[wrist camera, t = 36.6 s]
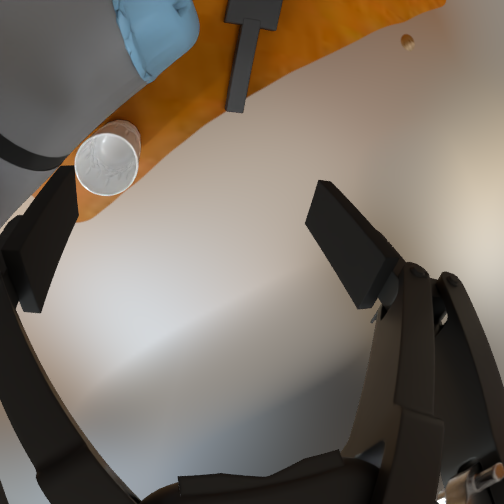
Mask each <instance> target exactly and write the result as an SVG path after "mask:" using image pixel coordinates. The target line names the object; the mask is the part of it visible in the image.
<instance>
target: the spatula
mask: <svg viewBox="0 0 504 504" xmlns="http://www.w3.org/2000/svg"><path fill="white" fill-rule="evenodd" d="M282 1H283V0H228V5H227V9H226V14H225V19H224V23H231V24H238V25H240V29H239V34H238V39H237V44H236V49H235V54H234V60H233V65H232V70H231V76H230V81H229V87H228V93H227V99H226V105H225V110H226V111H227V112H236V113H243V111H244V105H245V100H246V95H247V89H248V84H249V79H250V74H251V69H252V64H253V59H254V54H255V49H256V44H257V39H258V34H259V30H260V29H265V30H270V31H276V29H277V24H278V19H279V15H280V10H281V6H282Z"/></svg>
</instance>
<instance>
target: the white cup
mask: <svg viewBox="0 0 504 504" xmlns="http://www.w3.org/2000/svg"><path fill="white" fill-rule="evenodd" d="M140 150H141V137H140V133H139V132H138V130H137V128H136V126H134V125H133V124H131V123H130V122H128V121H124V120H115V121H112V122H109V123H107V124H106V125H104V126H103V127H101V128H100V129H99V130H97V131H96V132H95V133H94V134H93V135H91V136H90V137H89V138H88V139H87V140H86V141H85V142H84V143H83V144H82V145H81V146H80V148H79V150H78V152H77V154H76V157H75V172H76V175H77V177H78V179H79V181H80V183H81V184H82V185H83V186H84V187H85V188H86V189H87V190H89V191H90V192H92V193H94V194H97V195H102V196H111V195H116V194H118V193H121V192H123V191H124V190H126V189H127V188H128V187H129V186H130V185H131V184H132V182H133V181H134V179H135V177H136V175H137V171H138V165H139V159H140Z"/></svg>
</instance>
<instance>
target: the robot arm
mask: <svg viewBox="0 0 504 504" xmlns="http://www.w3.org/2000/svg"><path fill="white" fill-rule="evenodd" d="M199 28H200V27H199V20H198V16H197V13H196V10H195V7H194V4H193V2H192V0H0V228H1V227H2V226H3V225H4V224H5V222H6V221H7V220H8V219H9V218H10V216H12V214H13V213H14V212H15V211H16V210H17V209H18V208H19V207H20V206H21V205H22V204H23V203H24V202H25V201H26V200H27V199H28V198H29V197H30V196H31V195H32V194H33V193H34V192H35V191H36V190H37V189H38V188H39V187H40V186H41V185H42V184H43V183H44V182H45V181H46V180H47V179H48V178H49V177H50V176H51V175H52V174H53V172H54V171H55V170H56V169H57V168H58V167H59V166H60V165H61V164H62V162H63V161H64V160H65V158H66V157H67V156H68V155H69V154H70V153H71V152H72V151H73V150H74V149H75V148H76V147H77V146H78V145H79V144H80V143H81V142H82V141H83V140H84V139H85V138H86V137H87V136H88V135H89V134H90V133H91V132H92V131H93V130H94V129H95V128H96V127H97V126H99V125H100V124H101V123H102V122H103V121H104V120H105V119H106V118H107V117H108V116H110V115H111V114H112V113H113V112H114V111H115V110H116V109H118V108H119V107H120V106H121V105H122V104H123V103H125V102H126V101H127V100H128V99H129V98H131V97H132V96H133V95H134V94H136V93H137V92H138V91H139V90H141V89H142V88H143V87H144V86H146V85H147V84H148V83H150V82H152V81H154V80H155V79H156V78H157V76H158V75H159V74H160V73H162V72H163V71H164V70H165V69H166V68H167V67H169V66H170V65H171V64H172V63H173V62H175V61H176V60H177V59H178V58H180V57H181V56H182V55H183V54H185V53H186V52H187V51H188V50H189V49H190V48H191V47H192V46H193V45H194V44H195V42H196V40H197V38H198V35H199ZM78 216H79V213H78V204H77V193H76V181H75V165H71V166H60V167H59V168H58V169H57V171H56V172H55V173H54V174H53V176H52V177H51V178H50V179H49V181H48V182H47V183H46V184H45V186H44V187H43V188H42V190H41V191H40V192H39V194H38V195H37V196H36V198H35V199H34V200H33V202H32V203H31V204H30V206H29V207H28V209H27V210H26V212H25V213H24V214H23V215H17V216H16V217H15V218H13V219H12V220H11V221H10V222H8V224H7V225H6V227H5V228H4V231H3V232H2V233H1V234H0V400H1V402H2V405H3V407H4V409H5V411H6V414H7V416H8V418H9V420H10V422H11V424H12V426H13V428H14V431H15V432H16V434H17V436H18V438H19V440H20V442H21V444H22V446H23V448H24V449H25V451H26V453H27V455H28V457H29V458H30V460H31V462H32V463H33V465H34V467H35V469H36V472H37V474H36V479H37V482H38V484H39V486H40V488H41V490H42V491H43V493H44V494H45V496H46V497H47V499H48V500H49V502H50V503H51V504H504V387H503V384H502V380H501V377H500V374H499V371H498V368H497V365H496V362H495V359H494V356H493V354H492V351H491V348H490V346H489V343H488V340H487V338H486V335H485V333H484V330H483V328H482V325H481V323H480V321H479V318H478V316H477V314H476V311H475V309H474V307H473V305H472V302H471V300H470V298H469V296H468V294H467V292H466V290H465V288H464V286H463V284H462V282H461V281H460V280H459V279H458V277H457V276H455V275H454V274H451V273H449V272H442V274H441V275H440V277H439V279H438V280H436V279H432V278H430V277H429V274H428V273H427V271H426V270H425V269H424V268H422V267H421V266H419V265H418V264H415V263H412V262H407V263H406V262H405V260H404V259H403V258H402V257H401V256H400V254H399V253H398V252H397V251H396V250H395V249H394V247H392V245H391V244H390V243H389V242H387V239H386V238H385V237H384V236H383V235H382V234H381V233H380V232H379V231H377V230H376V229H375V228H374V227H373V226H372V225H371V224H370V223H369V221H368V220H367V219H366V218H365V217H364V216H363V215H362V214H361V213H360V212H359V211H358V209H357V208H356V207H355V206H354V205H353V204H352V203H351V202H350V201H349V200H348V199H347V198H346V197H345V196H344V195H343V194H342V192H341V191H340V190H339V189H338V188H336V186H335V185H334V184H333V183H332V182H330V181H323V180H318V184H317V187H316V190H315V193H314V197H313V200H312V203H311V206H310V209H309V212H308V215H307V218H306V222H305V225H306V226H307V227H308V229H309V231H310V232H311V234H312V235H313V237H314V239H315V240H316V242H317V243H318V245H319V246H320V248H321V250H322V251H323V252H324V254H325V256H326V258H327V259H328V261H329V262H330V264H331V266H332V267H333V269H334V270H335V272H336V273H337V275H338V277H339V279H340V280H341V282H342V284H343V285H344V287H345V289H346V290H347V292H348V294H349V295H350V297H351V298H352V300H353V302H354V304H355V306H356V307H357V309H367V308H372V306H373V305H374V303H375V301H376V300H377V298H379V300H380V301H381V303H382V304H381V306H380V307H379V309H378V310H377V312H376V314H375V315H374V317H373V318H372V320H371V323H373V322H374V320H376V325H375V332H374V337H373V342H372V347H371V352H370V358H369V362H368V367H367V372H366V376H365V381H364V385H363V389H362V393H361V397H360V401H359V405H358V409H357V412H356V416H355V420H354V423H353V427H352V431H351V434H350V437H349V440H348V442H347V444H346V445H345V447H344V448H343V450H342V451H341V452H340V451H339V449H338V450H335V451H332V452H328V453H324V454H321V455H317V456H313V457H309V458H305V459H303V460H301V461H299V462H297V463H295V464H293V465H291V466H290V467H287V468H285V469H283V470H281V471H279V472H277V473H275V474H273V475H270V476H267V477H256V476H243V475H231V474H223V473H218V474H208V475H194V476H178V482H177V483H174V484H171V485H168V486H165V487H163V488H160V489H158V490H157V491H155V492H153V493H151V494H150V495H149V496H147V497H146V498H144V499H143V500H142V501H141V500H140V499H139V498H138V497H137V496H136V495H135V494H134V493H133V492H132V491H131V490H130V489H129V488H128V487H127V486H126V484H125V483H124V482H123V481H122V480H121V479H120V478H119V477H118V476H117V475H116V473H114V471H113V470H112V469H111V468H110V467H109V465H108V464H107V463H106V462H105V461H104V459H103V458H102V457H101V456H100V455H99V453H98V452H97V450H96V449H95V448H94V446H93V445H92V444H91V443H90V441H89V440H88V438H87V437H86V436H85V434H84V433H83V432H82V430H81V429H80V428H79V426H78V424H77V423H76V421H75V420H74V418H73V417H72V415H71V414H70V413H69V411H68V409H67V408H66V406H65V405H64V403H63V401H62V400H61V398H60V397H59V395H58V393H57V392H56V390H55V388H54V387H53V385H52V383H51V381H50V380H49V378H48V376H47V374H46V372H45V370H44V369H43V367H42V365H41V363H40V361H39V359H38V357H37V355H36V353H35V351H34V349H33V347H32V345H31V343H30V341H29V338H28V336H27V334H26V332H25V330H24V327H23V325H22V323H21V321H20V318H19V316H18V314H17V311H16V307H17V304H18V302H20V304H21V307H22V309H23V311H24V312H31V313H41V311H42V308H43V305H44V302H45V299H46V296H47V293H48V290H49V287H50V284H51V281H52V278H53V276H54V273H55V271H56V268H57V265H58V263H59V260H60V258H61V255H62V253H63V250H64V248H65V245H66V243H67V241H68V238H69V236H70V234H71V231H72V229H73V227H74V225H75V223H76V220H77V218H78ZM446 314H448V318H447V321H446V323H445V324H444V325H442V322H441V320H442V319H443V318H444V316H445V315H446ZM440 472H441V477H442V481H443V485H444V488H445V489H444V490H441V492H439V494H438V496H437V501H435V499H436V494H437V488H438V483H439V476H440ZM178 483H179V484H178ZM179 489H180V490H179ZM180 495H181V496H180ZM0 504H9V503H8V501H7V498H6V495H5V492H4V489H3V487H2V484H1V481H0Z"/></svg>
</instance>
